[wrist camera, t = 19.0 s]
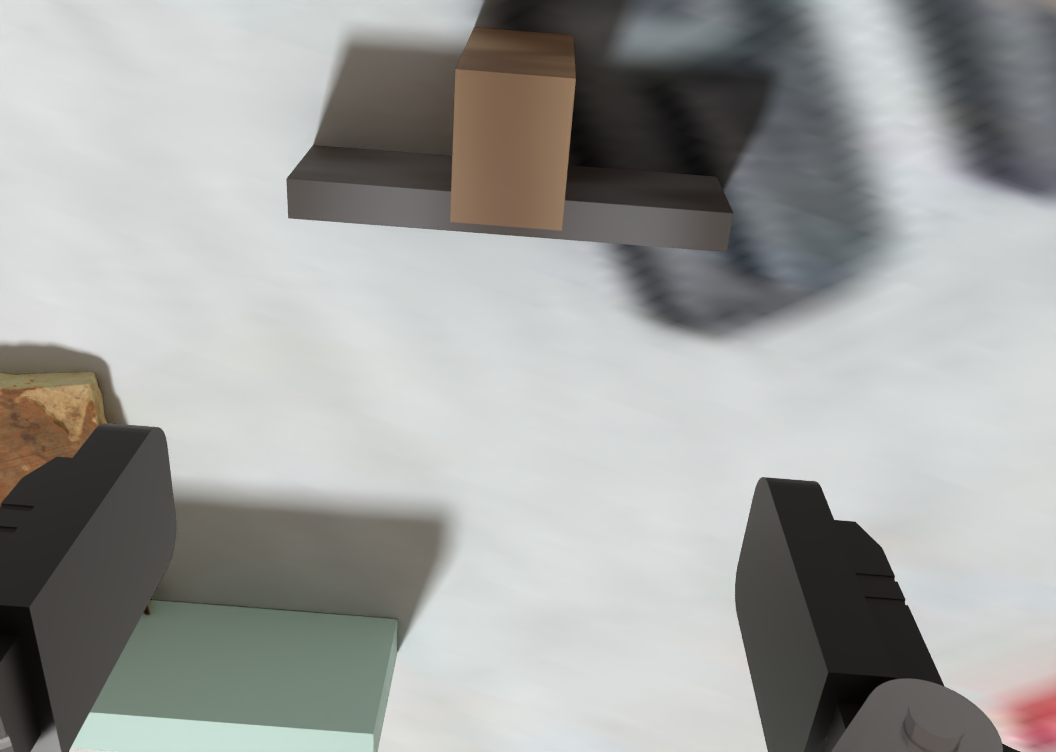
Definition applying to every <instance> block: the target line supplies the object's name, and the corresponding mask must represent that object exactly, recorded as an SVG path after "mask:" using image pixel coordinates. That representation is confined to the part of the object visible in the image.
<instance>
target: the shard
mask: <svg viewBox="0 0 1056 752" xmlns="http://www.w3.org/2000/svg"><path fill="white" fill-rule="evenodd" d="M102 423H107V421H106V419H105V414H104V408H103V396H102V393H101V391H100V389H99V387H98V383H97V380H96V375H95V373H94V372H77V373H40V374H36V373H34V374H20V375H14V374H5V373H0V507H1V503H2V501H3V500H4V499H5V498H6V497H7V495H8V494H9V493H10V492H11V491H12V489H13V488H14V487H15V486H16V485H17V483H18V482H19V481H20V480H21V479H22V478H23V477H24V476H26V475H28V474H29V473H31V472H32V471H34V470H36V469H37V468H39V467H41V466H42V465H44V464H45V463H47V462H49V461H50V460H52V459H54V458H55V457H70V458H73V457H74V455H75V454H76V453H77V452H78V450H79V449H80V448H81V446H82V445H83V444H84V443H85V441H86V440H87V439H88V438H89V436H90V435H91V434H92V432H93V431H94V430H95V429H96V428H97V427H98V426H99V425H100V424H102ZM150 603H151V599H150V601H149V603H148V605H147V607H146V609H145V610H144V612H143V613H144V614H146V615H149V614H150Z"/></svg>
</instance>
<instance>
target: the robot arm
mask: <svg viewBox="0 0 1056 752" xmlns="http://www.w3.org/2000/svg"><path fill="white" fill-rule="evenodd" d="M175 538H176V514H175V506H174V498H173V489H172V481H171V473H170V464H169V456H168V448H167V441H166V437H165V434H164V432H163V430H162V429H161V428H159V427H148V426H136V425H123V424H111V423H102V424H100V425H99V426H98V427H97V428H96V429H95V430H94V431H93V432H92V434H91V435H90V436H89V438H88V439H87V440H86V441H85V443H84V444H83V445H82V446H81V448H80V449H79V450H78V452H77V453H76V454H75V455H74V457H73V458H70V457H55V458H54V459H52V460H50V461H49V462H47V463H45V464H44V465H42V466H41V467H39V468H37V469H36V470H34V471H32V472H31V473H29V474H28V475H26V476H24V477H23V478H22V479H21V480H20V481H19V482H18V483H17V485H16V486H15V487H14V488H13V489H12V491H11V492H10V493H9V494H8V495H7V497H6V498H5V499H4V500H3V501H2V503H1V507H0V752H69V750H70V748H71V746H72V744H73V743H74V741H75V739H76V737H77V735H78V733H79V731H80V730H81V728H82V726H83V724H84V722H85V720H86V718H87V717H88V715H89V713H90V711H91V709H92V707H93V705H94V704H95V702H96V700H97V698H98V696H99V694H100V692H101V690H102V689H103V687H104V685H105V683H106V681H107V679H108V677H109V676H110V674H111V672H112V670H113V668H114V666H115V664H116V663H117V661H118V659H119V657H120V655H121V653H122V651H123V650H124V648H125V646H126V644H127V642H128V640H129V638H130V637H131V635H132V633H133V631H134V629H135V627H136V625H137V624H138V622H139V620H140V618H141V616H142V614H143V612H144V610H145V609H146V607H147V605H148V603H149V601H150V599H151V597H152V596H153V594H154V592H155V590H156V588H157V586H158V584H159V583H160V581H161V579H162V577H163V575H164V573H165V571H166V570H167V568H168V565H169V563H170V560H171V557H172V554H173V550H174V545H175ZM894 578H895V576H894V573H893V571H892V569H891V567H890V564H889V562H888V560H887V558H886V556H885V553H884V551H883V549H882V547H881V546H880V545H879V544H878V543H877V542H876V541H875V540H874V539H872V538H871V537H870V536H869V535H868V534H867V533H866V532H865V531H864V530H863V529H862V528H861V527H860V526H859V525H858V524H857V523H856V522H852V521H839V520H834V519H833V516H832V514H831V511H830V509H829V506H828V503H827V501H826V498H825V496H824V493H823V491H822V488H821V486H820V485H819V483H818V482H815V481H803V480H790V479H778V478H765V477H762V478H760V480H759V481H758V483H757V485H756V488H755V492H754V496H753V500H752V505H751V509H750V513H749V518H748V522H747V527H746V531H745V535H744V540H743V544H742V548H741V553H740V557H739V562H738V566H737V572H736V583H735V602H736V611H737V617H738V621H739V625H740V630H741V634H742V639H743V643H744V648H745V652H746V656H747V661H748V665H749V670H750V674H751V679H752V683H753V687H754V692H755V696H756V701H757V705H758V710H759V714H760V718H761V723H762V727H763V732H764V736H765V741H766V745H767V749H768V752H1020V751H1017V750H1015V749H1012V748H1010V747H1008V746H1006V745H1004V744H1002V742H1001V738H1000V736H999V734H998V731H997V730H996V728H995V726H994V725H993V723H992V722H991V721H990V719H989V718H988V717H987V716H986V715H985V714H984V712H982V711H981V710H980V709H979V708H978V707H977V706H976V705H975V704H973V703H972V702H971V701H969V700H968V699H967V698H965V697H964V696H962V695H960V694H958V693H957V692H955V691H953V690H951V689H949V688H946V687H944V684H943V682H942V680H941V678H940V675H939V673H938V671H937V669H936V667H935V664H934V662H933V660H932V658H931V655H930V653H929V651H928V649H927V647H926V644H925V642H924V640H923V638H922V635H921V633H920V631H919V629H918V627H917V624H916V622H915V620H914V618H913V615H912V613H911V611H910V609H909V607H908V605H905V598H904V596H903V593H902V591H901V589H900V587H899V584H898V582H895V580H894Z"/></svg>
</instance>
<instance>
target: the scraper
mask: <svg viewBox="0 0 1056 752" xmlns="http://www.w3.org/2000/svg"><path fill="white" fill-rule="evenodd" d="M575 82H576V73H575V55H574V38H573V35H565V34H552V33H540V32H527V31H514V30H502V29H489V28H476V27H474V29H473V31H472V33H471V35H470V38H469V40H468V42H467V44H466V47H465V49H464V51H463V53H462V56H461V58H460V60H459V62H458V64H457V67H456V69H455V94H454V124H453V154H452V156H444V155H431V154H419V153H406V152H393V151H380V150H367V149H354V148H341V147H328V146H316V145H313V146H312V147H311V149H310V150H309V151H308V152H307V154H306V155H305V156H304V157H303V159H302V160H301V161H300V162H299V164H298V165H297V166H296V168H295V169H294V170H293V171H292V173H291V174H290V175H289V176H288V178H287V199H288V218H292V219H305V220H318V221H331V222H344V223H357V224H370V225H383V226H396V227H409V228H422V229H435V230H448V231H461V232H474V233H487V234H500V235H513V236H526V237H539V238H552V239H565V240H578V241H591V242H604V243H616V244H629V245H642V246H655V247H668V248H681V249H694V250H707V251H720V252H727V246H728V240H729V235H730V229H731V224H732V218H733V212H732V209H731V207H730V205H729V203H728V200H727V198H726V196H725V194H724V192H723V189H722V187H721V185H720V183H719V180H718V178H717V177H715V176H702V175H689V174H676V173H663V172H650V171H638V170H625V169H612V168H599V167H586V166H573V165H568V159H569V148H570V137H571V126H572V115H573V104H574V93H575Z"/></svg>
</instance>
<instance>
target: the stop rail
mask: <svg viewBox="0 0 1056 752" xmlns="http://www.w3.org/2000/svg"><path fill="white" fill-rule="evenodd" d="M396 656H397V619H388V618H375V617H362V616H350V615H337V614H324V613H311V612H299V611H286V610H273V609H260V608H247V607H235V606H222V605H209V604H196V603H184V602H171V601H158V600H151V603H150V614H149V615H146V614H144V613H143V614H142V616H141V618H140V620H139V622H138V624H137V625H136V627H135V629H134V631H133V633H132V635H131V637H130V638H129V640H128V642H127V644H126V646H125V648H124V650H123V651H122V653H121V655H120V657H119V659H118V661H117V663H116V664H115V666H114V668H113V670H112V672H111V674H110V676H109V677H108V679H107V681H106V683H105V685H104V687H103V689H102V690H101V692H100V694H99V696H98V698H97V700H96V702H95V704H94V705H93V707H92V709H91V711H90V713H89V715H88V717H87V718H86V720H85V722H84V724H83V726H82V728H81V730H80V731H79V733H78V735H77V737H76V739H75V741H74V743H73V744H72V746H71V748H73V749H86V750H99V751H112V752H377V751H378V746H379V741H380V736H381V731H382V726H383V721H384V716H385V711H386V706H387V701H388V696H389V691H390V686H391V681H392V676H393V671H394V666H395V661H396Z"/></svg>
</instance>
